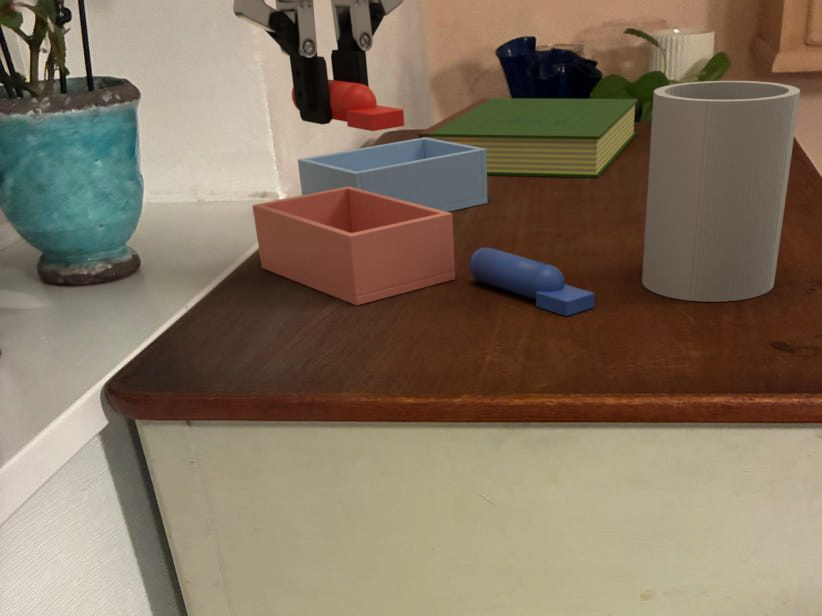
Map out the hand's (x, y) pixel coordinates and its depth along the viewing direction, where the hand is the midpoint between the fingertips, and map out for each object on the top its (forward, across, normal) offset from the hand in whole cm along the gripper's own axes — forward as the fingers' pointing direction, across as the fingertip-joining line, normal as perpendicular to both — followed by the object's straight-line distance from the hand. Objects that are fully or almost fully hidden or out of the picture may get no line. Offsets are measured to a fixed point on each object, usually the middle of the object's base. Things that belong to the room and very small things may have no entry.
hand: (334, 116), depth 71 cm
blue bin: (+11, -14, -14) cm, 23 cm away
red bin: (+11, 0, +1) cm, 11 cm away
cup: (+11, -16, +21) cm, 29 cm away
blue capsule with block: (+11, -5, +14) cm, 18 cm away
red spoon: (0, 0, +1) cm, 1 cm away
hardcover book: (+11, -40, -24) cm, 48 cm away
